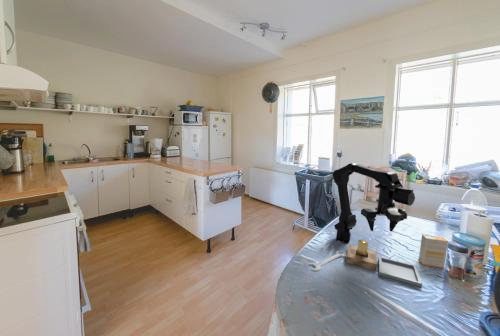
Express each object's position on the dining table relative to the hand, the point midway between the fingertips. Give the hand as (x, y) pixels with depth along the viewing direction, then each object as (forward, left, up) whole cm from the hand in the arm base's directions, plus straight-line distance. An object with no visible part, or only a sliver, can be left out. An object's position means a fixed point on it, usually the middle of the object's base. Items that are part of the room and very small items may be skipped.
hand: (381, 231), depth 103 cm
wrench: (-20, -15, -14) cm, 29 cm away
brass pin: (-7, -7, -13) cm, 16 cm away
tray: (+7, -10, -13) cm, 18 cm away
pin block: (-7, -7, -13) cm, 16 cm away
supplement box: (+21, +6, -14) cm, 26 cm away
